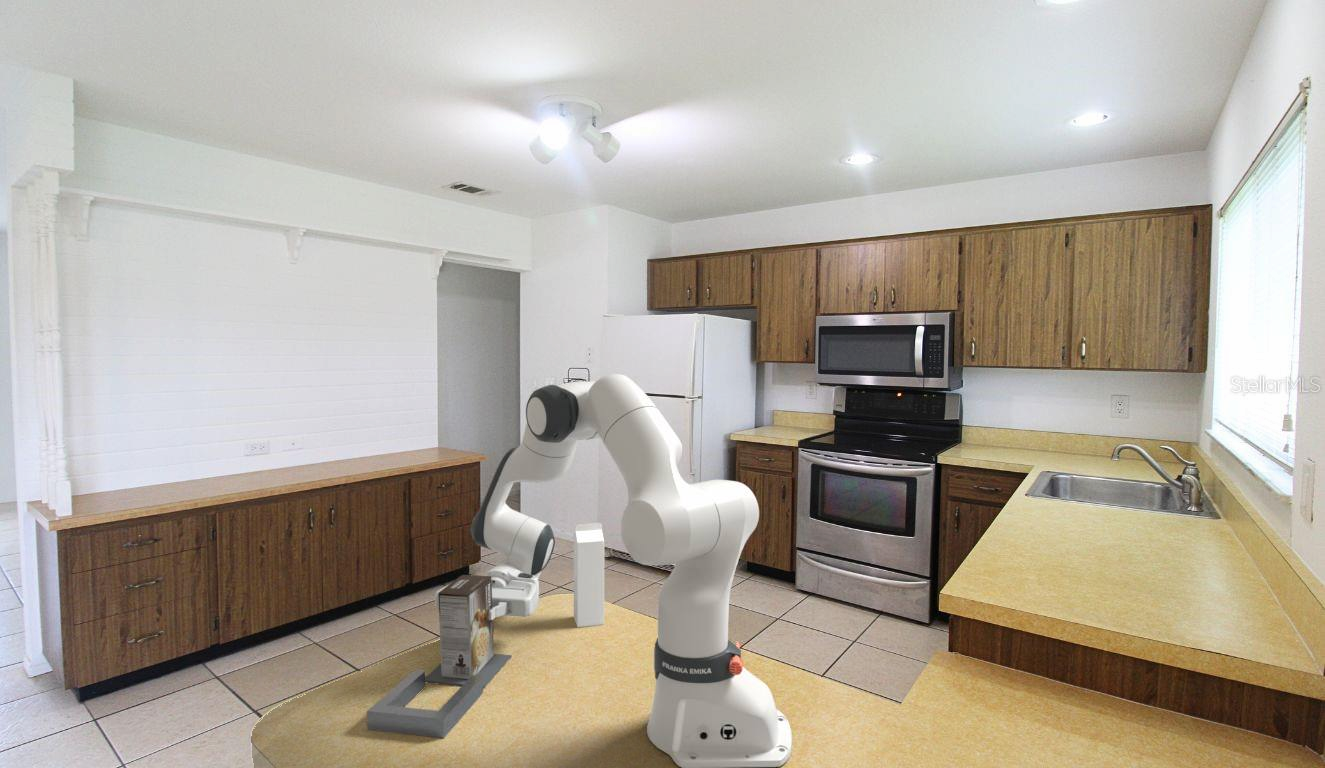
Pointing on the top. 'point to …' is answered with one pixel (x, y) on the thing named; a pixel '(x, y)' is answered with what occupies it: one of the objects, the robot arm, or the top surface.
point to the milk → (588, 575)
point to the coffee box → (465, 626)
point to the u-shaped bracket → (421, 722)
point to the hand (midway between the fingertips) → (468, 614)
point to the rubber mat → (487, 672)
